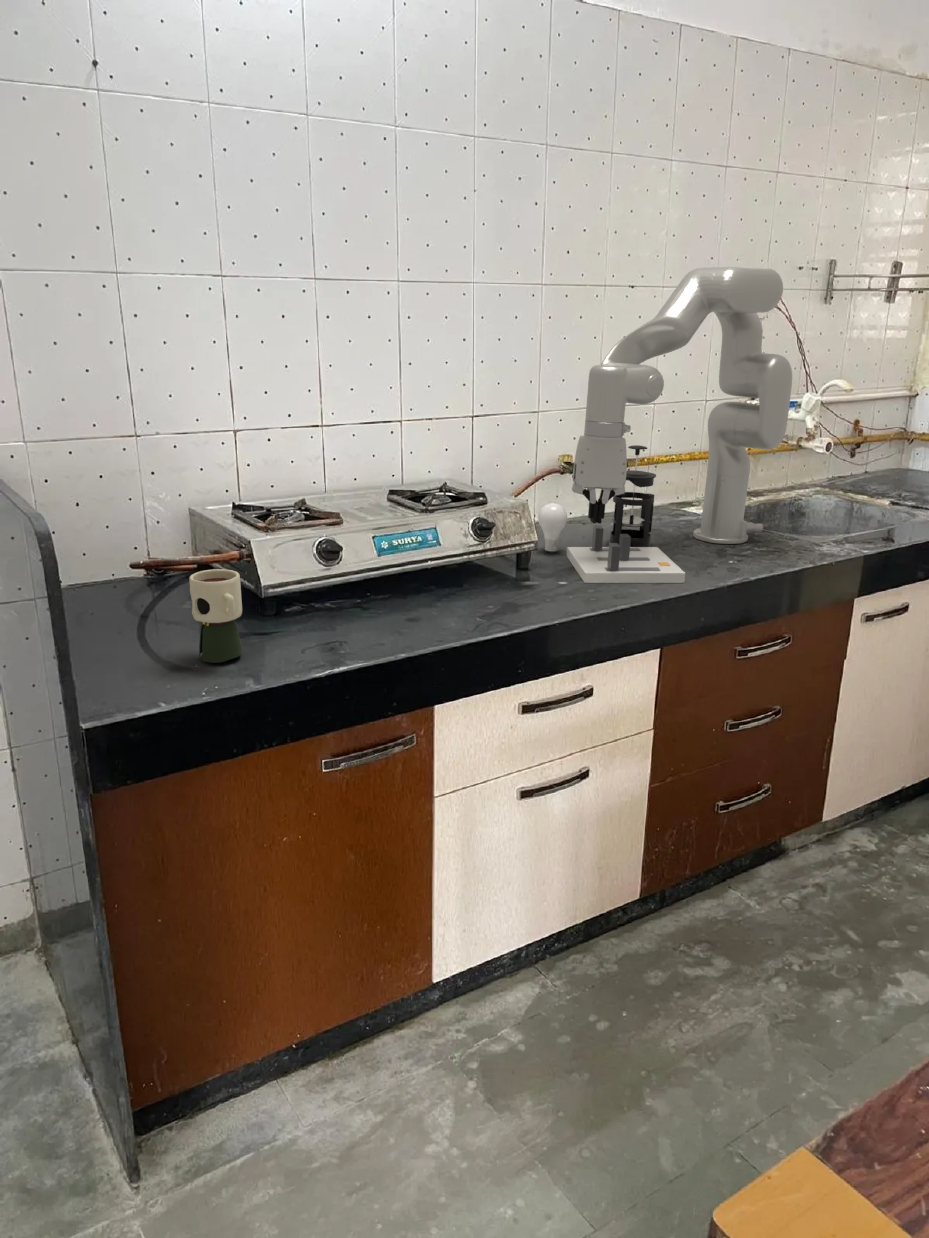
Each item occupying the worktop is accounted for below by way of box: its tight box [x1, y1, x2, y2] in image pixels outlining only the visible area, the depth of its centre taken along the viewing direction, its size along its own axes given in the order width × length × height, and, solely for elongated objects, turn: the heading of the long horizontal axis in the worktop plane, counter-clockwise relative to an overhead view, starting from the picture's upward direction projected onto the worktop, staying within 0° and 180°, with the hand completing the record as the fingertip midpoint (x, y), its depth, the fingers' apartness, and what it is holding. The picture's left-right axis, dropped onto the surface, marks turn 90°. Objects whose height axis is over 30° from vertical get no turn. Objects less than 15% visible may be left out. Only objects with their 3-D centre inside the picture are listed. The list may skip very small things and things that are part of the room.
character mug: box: [188, 568, 243, 664], centre depth 128 cm, size 11×7×13 cm, turn 39°
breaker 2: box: [607, 542, 620, 570], centre depth 172 cm, size 2×3×5 cm, turn 4°
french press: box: [607, 444, 657, 547], centre depth 193 cm, size 12×9×23 cm
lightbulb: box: [537, 502, 568, 554], centre depth 190 cm, size 6×6×11 cm
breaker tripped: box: [619, 534, 631, 560], centre depth 179 cm, size 2×3×5 cm, turn 4°
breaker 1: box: [591, 524, 604, 550], centre depth 186 cm, size 2×3×5 cm, turn 4°
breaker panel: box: [566, 546, 686, 584], centre depth 180 cm, size 20×20×2 cm
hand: (595, 521), depth 177 cm, fingers closed
